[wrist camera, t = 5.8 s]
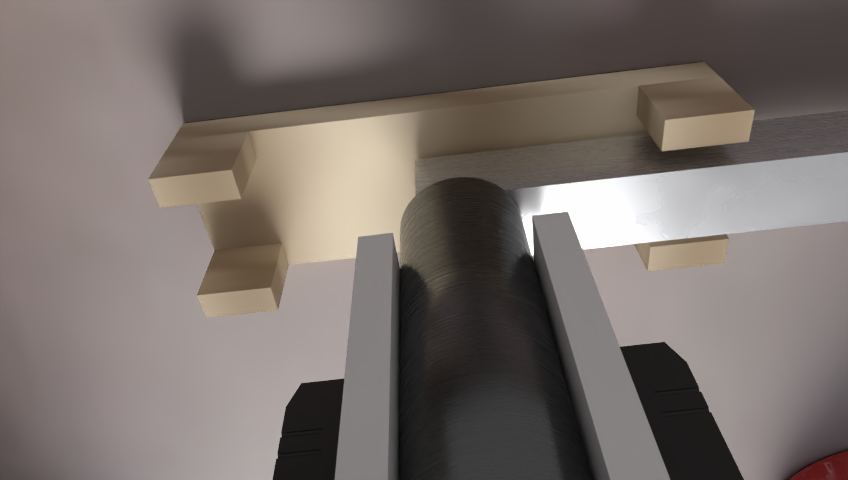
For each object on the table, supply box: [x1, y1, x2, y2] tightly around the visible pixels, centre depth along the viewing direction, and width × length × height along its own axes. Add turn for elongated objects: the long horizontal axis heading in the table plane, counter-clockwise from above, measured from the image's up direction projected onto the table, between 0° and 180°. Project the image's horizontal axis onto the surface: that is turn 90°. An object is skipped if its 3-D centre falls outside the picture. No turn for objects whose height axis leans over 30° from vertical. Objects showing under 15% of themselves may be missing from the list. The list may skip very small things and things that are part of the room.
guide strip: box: [148, 62, 755, 317], centre depth 17 cm, size 14×4×3 cm, turn 96°
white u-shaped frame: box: [399, 110, 848, 480], centre depth 13 cm, size 18×6×13 cm, turn 96°
